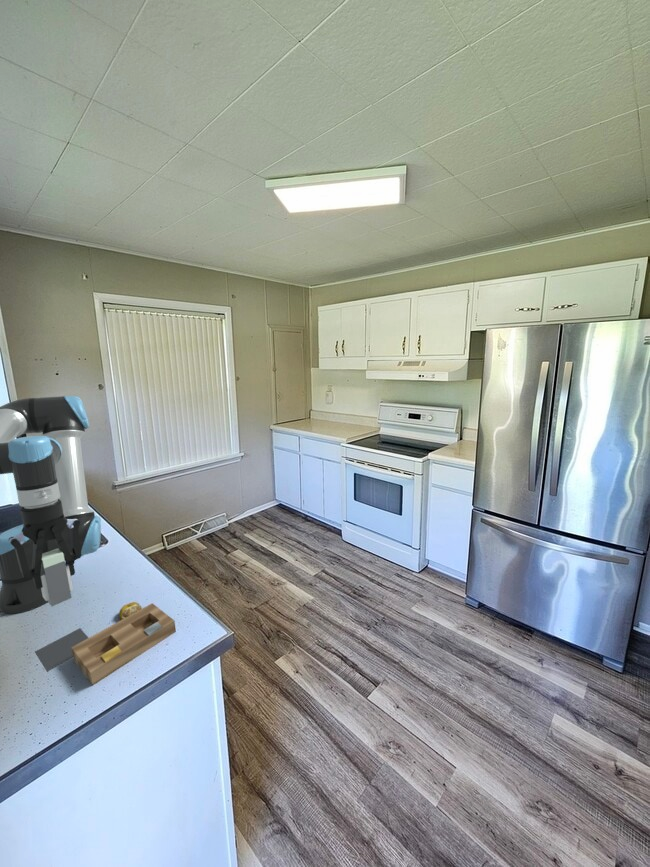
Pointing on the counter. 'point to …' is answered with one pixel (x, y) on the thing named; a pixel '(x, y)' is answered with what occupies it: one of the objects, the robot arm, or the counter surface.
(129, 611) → the fruit
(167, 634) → the socket block
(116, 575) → the counter surface
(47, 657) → the mat
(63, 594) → the plug
